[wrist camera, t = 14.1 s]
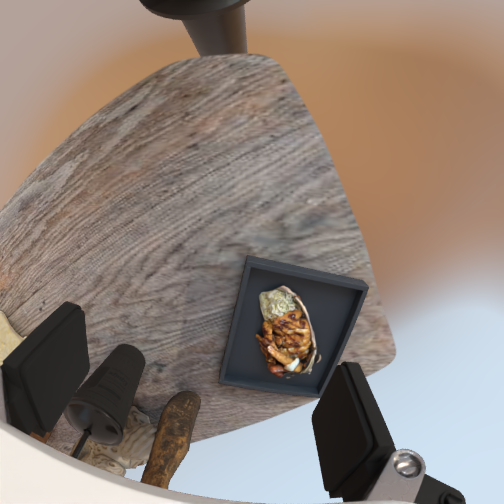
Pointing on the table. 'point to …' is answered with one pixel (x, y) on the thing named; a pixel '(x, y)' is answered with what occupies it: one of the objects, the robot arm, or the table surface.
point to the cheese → (7, 338)
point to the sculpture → (171, 439)
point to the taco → (286, 333)
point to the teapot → (122, 446)
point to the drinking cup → (106, 398)
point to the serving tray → (320, 315)
